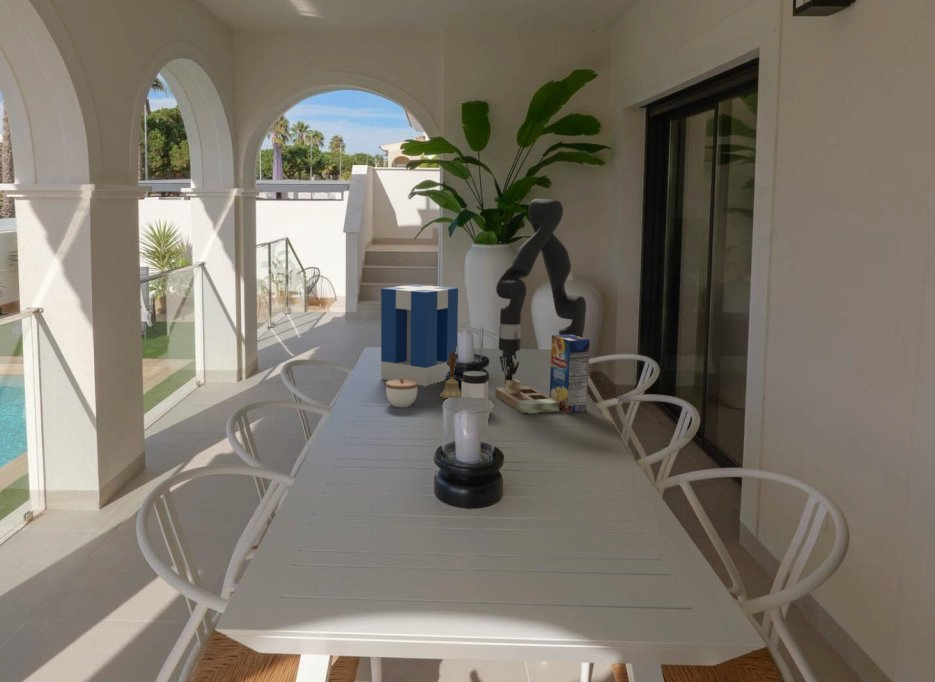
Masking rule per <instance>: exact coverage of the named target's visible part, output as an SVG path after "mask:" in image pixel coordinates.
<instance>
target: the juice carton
mask: <svg viewBox="0 0 935 682" xmlns="http://www.w3.org/2000/svg"><path fill="white" fill-rule="evenodd" d="M590 342H591V340H590V339H589V338H585V337H583V338H582V337H579V336H575V335H572V334H567V335H559V334H552V335H551V348H550V351H551V352H550V379H549V397H550V398H552V399H554V400H556V401H558V402H559V411H561V412H563V411H564V412H563V413H565V412H566V413H565V414H573V413H572V412H575V413H582V412H581V411H586V412H587V411H588V409H587V408H588V387H589V385H588V384H589V364H590V363H589V361H590Z"/></svg>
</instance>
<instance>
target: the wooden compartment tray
mask: <svg viewBox="0 0 935 682" xmlns="http://www.w3.org/2000/svg"><path fill="white" fill-rule="evenodd" d="M494 394H495V398H497V397H498V398H497V399H499V400H500V399H501V400H500V401H502V400H503V401H504V403H505V402H506V403H505V404H507V403H508V404H509V405H508V404H507V405H508V406H510V405H511V406H512V407H511V406H510V407H511V408H513V407H514V408H515V409H514V408H513V409H514V410H516V409H517V410H518V411H517V410H516V411H517V412H519V411H520V412H521V414H522V413H528V414H540V413H539V412H542V413H553V412H554V411H556V412H560V410H559V402H558V401H556V400H554V399H552V398H550V395H549V396H548V395H547V394H545V393H543V392H541V391H539V390H538V389H536V388H534V387H532V386H530V385H525V386H523V385H521V393H520V394H509V393H507V392H506V386H505V387H495V393H494ZM503 401H502V402H503ZM520 412H519V413H520Z"/></svg>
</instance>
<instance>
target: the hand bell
mask: <svg viewBox="0 0 935 682" xmlns="http://www.w3.org/2000/svg"><path fill="white" fill-rule="evenodd" d="M455 366H456V356H455V352H451V354H450V357H449V367H450V379H448V380H445V384H444V388H443V391H441V393H440V394H439V397H441V398H442V399H446V398H450V397H460V396H461V389H460V386H459V381H458V380H456V379H455V378H456V377H455V375H454V370H455ZM454 377H455V378H454Z"/></svg>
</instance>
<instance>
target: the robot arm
mask: <svg viewBox="0 0 935 682" xmlns="http://www.w3.org/2000/svg"><path fill="white" fill-rule="evenodd" d="M563 214H564V208H563V205H562V202H560V201H559V200H557V199H547V198H535V199H532V200H531V201H530V203H529V205H528V217H529V221H530V224H531V226H532V229H533V231H534V234H533V235H532V236H531V237H530V238H528V239H527V240H526V241H525V242H524V243H523V244H522V245H521V246H520V247H519V249H518V250H517V252H516V254H515V256H514V258H513V260H512V263H511V265H510V266H509V267H508V268H507V269H506V271H505V272H503V274H502V275H501V277H500V278H499V279H498V281H497V284H496V286H495V287H496V288H495V289H496V290H495V291H496V295H497V296H498V297H499V298H501V299H506V300H510V301H509V304H508V305H504V306H502V307H501V308H500V313H499V314H500V317H499V318H500V319H499V328H498V350H499V351H502V355H500V356H499V361H500V366H501V370H502V372H503V374H504V385H505V386H506V380H513V375H516V373H517V371H518V368H519V366H520V362H519V361H517V352H518V351H520V350H521V338H522V337H521V336H522V329H521V328H522V327H521V317H522V316H521V315H522V314H521V313H522V310H523V306H524V302H525V298H526V295H527V286H526V284H525V282H524V280H522V279H524V278H527V277H528V276H529V275H530V274H531V271H532V269H533V267H534V265H535V263H536V261H537V258H538V257H539V254H540V253H541V255H542V258H543V263H544V267H545V269H546V273H547V277H548V280H549V284H550V289H551V293H552V298H553V304H554V309H555V310H554V311H555V313H556V316H558V317H559V319H563V320H564V319H565V320H571V324H570V325H568V326H566V327H562V328H560V329H559V331H558V335H567V334H572V335H575V336H579V337H582V338H584V330H585V324H586V313H587V302H586V299H585V297H584V296H580V295H570V294H567V293H566V288H565V285H566V281H567V279H568V277H569V275H570V273H571V269H572V264H571V260H570V256H569V252H568V250H567V248H566V247H565V246H564V244H563V242H562V241H561V240H560V239H559V238H558V237H557V236H556V235H555V234H554V232H555V231H556V229H557V227H558V226H559V224H560V222H561V220H562V218H563Z"/></svg>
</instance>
